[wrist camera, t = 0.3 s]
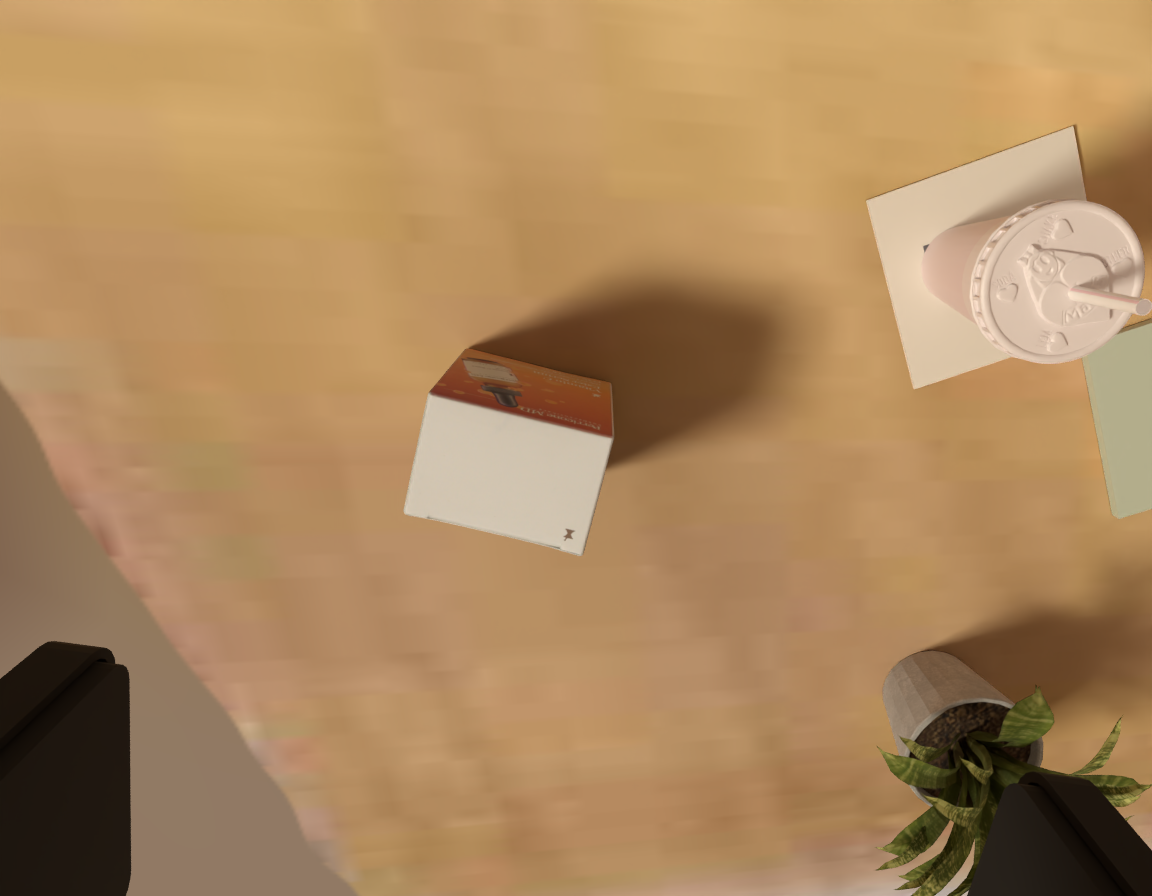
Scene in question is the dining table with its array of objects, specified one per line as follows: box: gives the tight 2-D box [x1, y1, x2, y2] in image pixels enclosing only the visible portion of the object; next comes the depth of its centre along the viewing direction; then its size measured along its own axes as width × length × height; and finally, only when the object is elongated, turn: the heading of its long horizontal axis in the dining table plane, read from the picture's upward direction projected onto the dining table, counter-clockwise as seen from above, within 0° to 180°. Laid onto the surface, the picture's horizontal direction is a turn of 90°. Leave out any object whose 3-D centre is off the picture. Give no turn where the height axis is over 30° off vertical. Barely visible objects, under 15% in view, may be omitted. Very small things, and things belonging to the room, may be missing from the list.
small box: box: [404, 349, 614, 556], centre depth 40 cm, size 8×6×10 cm
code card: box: [866, 126, 1087, 389], centre depth 42 cm, size 10×10×1 cm
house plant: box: [876, 651, 1152, 896], centre depth 41 cm, size 14×14×16 cm
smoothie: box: [921, 198, 1152, 364], centre depth 35 cm, size 6×6×14 cm
